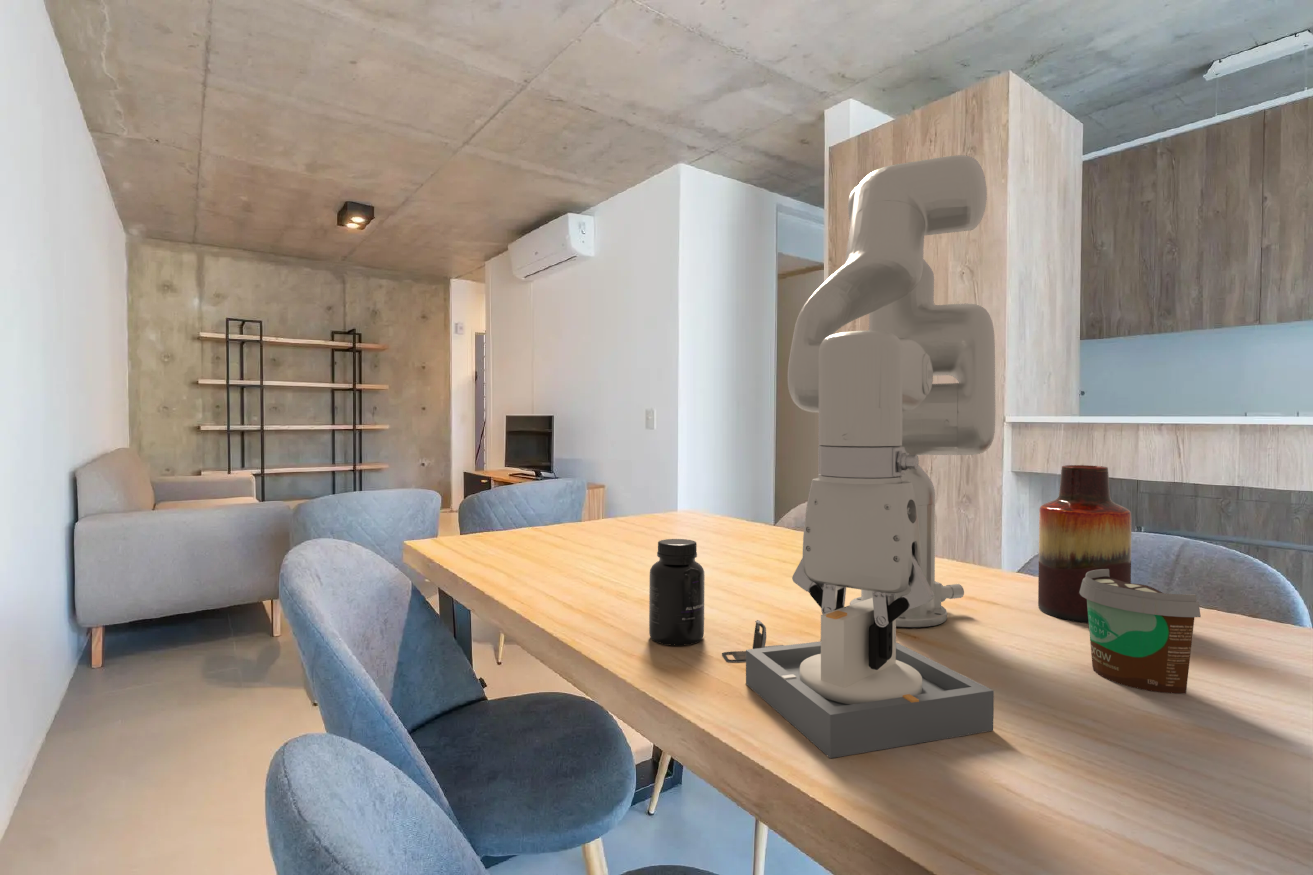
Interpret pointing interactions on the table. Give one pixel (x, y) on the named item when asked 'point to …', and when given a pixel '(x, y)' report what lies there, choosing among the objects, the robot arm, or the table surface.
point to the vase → (1080, 540)
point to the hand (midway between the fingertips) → (858, 659)
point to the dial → (855, 661)
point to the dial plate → (870, 704)
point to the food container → (1139, 633)
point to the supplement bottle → (676, 594)
